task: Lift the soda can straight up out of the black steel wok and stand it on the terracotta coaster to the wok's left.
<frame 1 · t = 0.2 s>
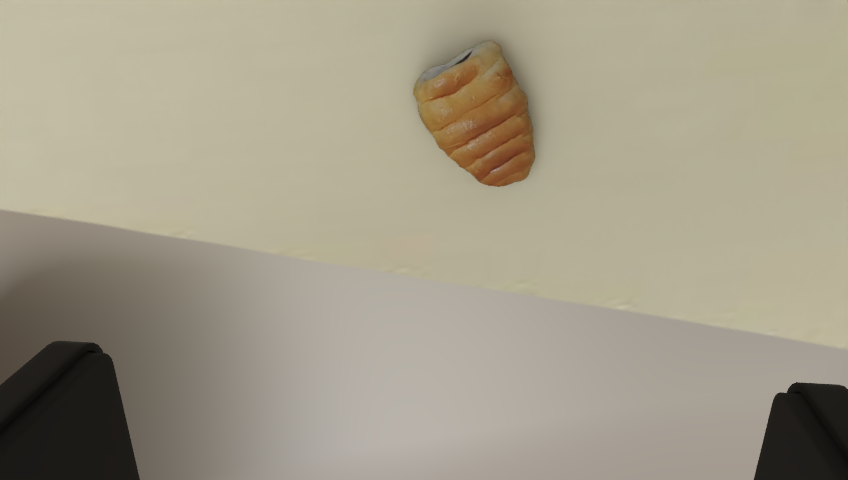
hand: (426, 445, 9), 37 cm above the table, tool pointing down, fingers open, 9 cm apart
pastry: (480, 107, 45), on the table
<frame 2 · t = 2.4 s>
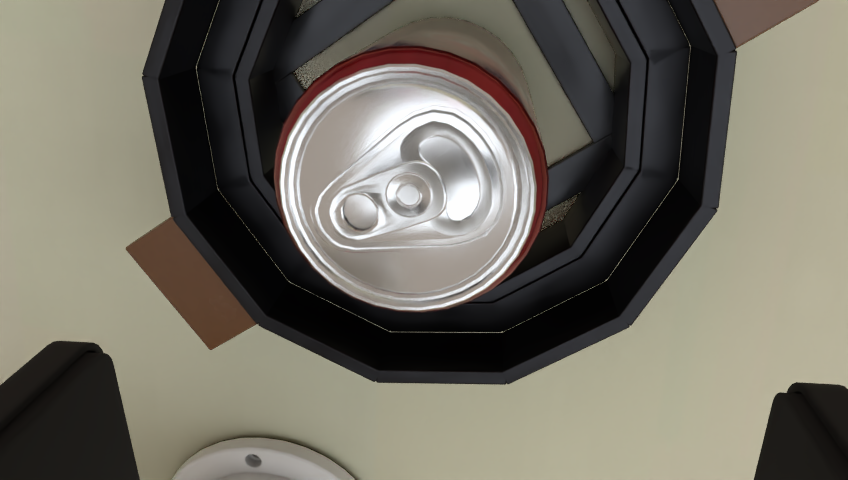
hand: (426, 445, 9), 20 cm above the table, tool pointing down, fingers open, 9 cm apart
soda can: (442, 105, 28), resting in wok
wok: (442, 106, 28), on the table
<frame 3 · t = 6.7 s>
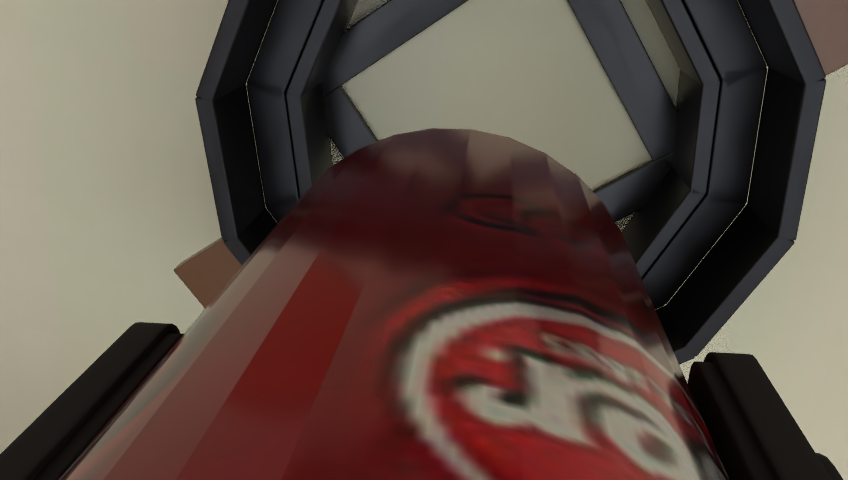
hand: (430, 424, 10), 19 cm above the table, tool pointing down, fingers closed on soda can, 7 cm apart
soda can: (452, 285, 14), point 14 cm above the table, touching gripper
wok: (495, 122, 27), on the table
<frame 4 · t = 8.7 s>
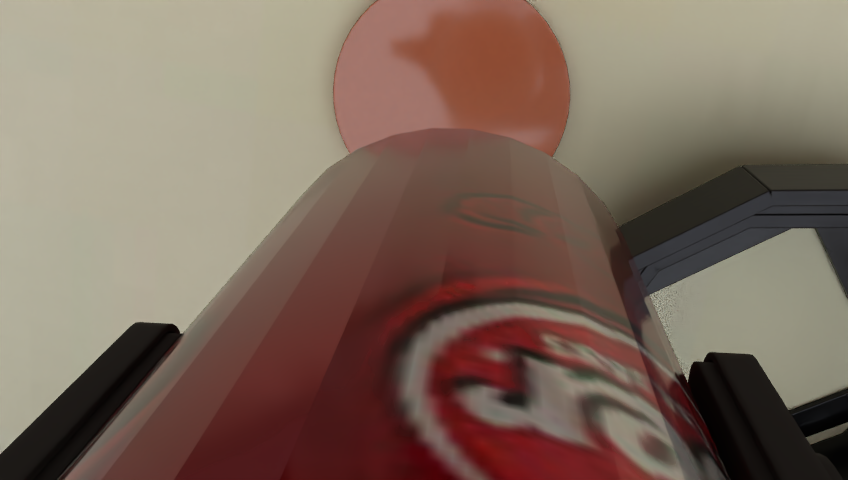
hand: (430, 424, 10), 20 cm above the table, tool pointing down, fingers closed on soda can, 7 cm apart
coaster: (450, 99, 28), on the table
soda can: (452, 285, 14), point 16 cm above the table, touching gripper
wok: (747, 341, 31), on the table
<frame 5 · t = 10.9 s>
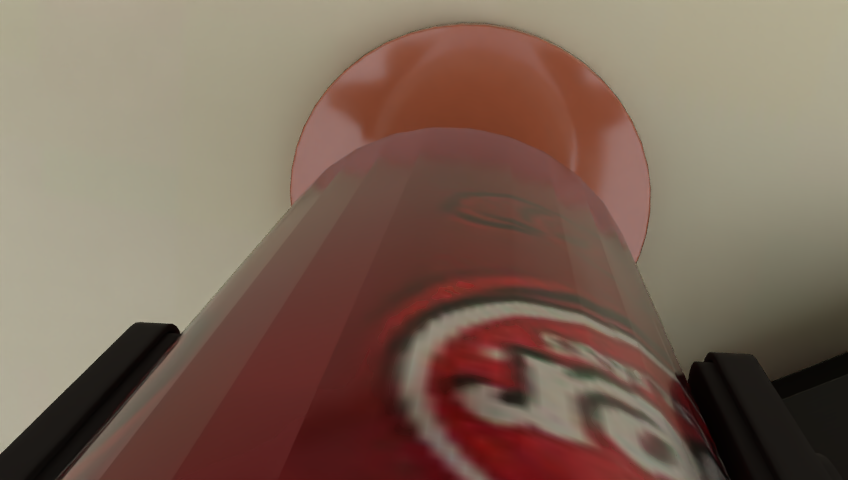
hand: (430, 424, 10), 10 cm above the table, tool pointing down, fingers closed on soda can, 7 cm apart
coaster: (465, 206, 19), on the table
soda can: (451, 285, 14), point 5 cm above the table, touching gripper
when the fingers open (5 cm above the table, at t = 12.7 s): soda can stays where it is, resting on coaster.
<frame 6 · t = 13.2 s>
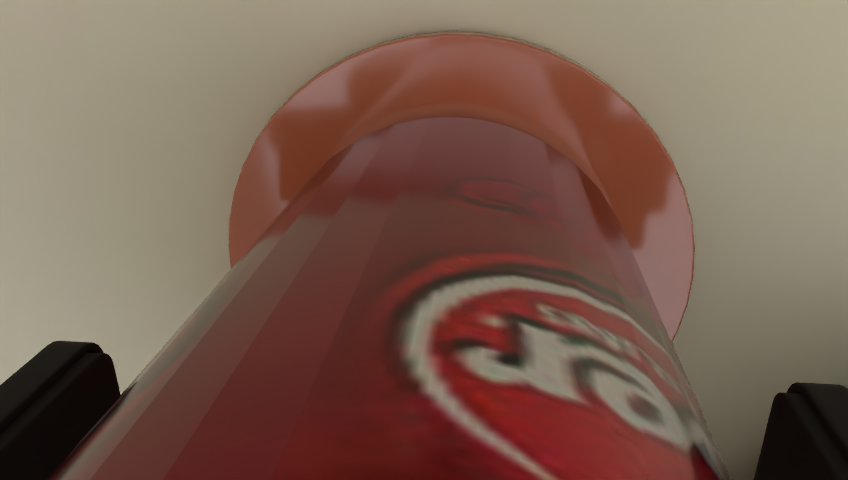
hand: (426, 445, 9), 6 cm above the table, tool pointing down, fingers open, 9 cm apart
coaster: (454, 265, 15), on the table
soda can: (452, 272, 14), resting on coaster
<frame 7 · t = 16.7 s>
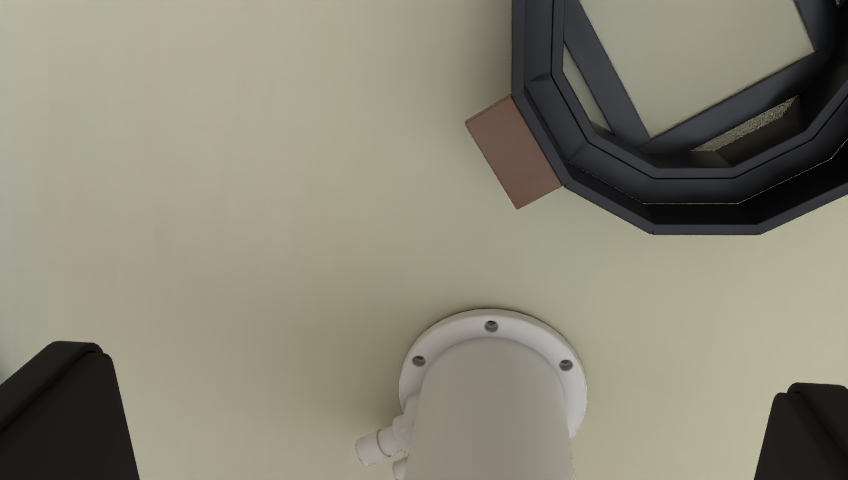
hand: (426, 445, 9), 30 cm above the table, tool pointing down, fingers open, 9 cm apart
wok: (694, 22, 35), on the table
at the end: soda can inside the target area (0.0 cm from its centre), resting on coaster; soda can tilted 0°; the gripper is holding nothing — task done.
